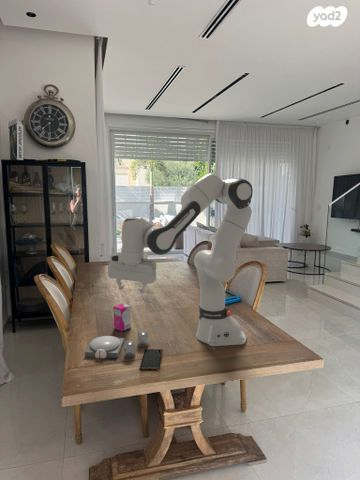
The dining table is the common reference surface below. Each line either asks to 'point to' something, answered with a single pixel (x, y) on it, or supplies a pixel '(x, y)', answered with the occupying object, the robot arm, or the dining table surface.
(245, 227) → the robot arm
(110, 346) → the scale
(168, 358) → the dining table surface
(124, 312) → the supplement box
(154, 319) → the dining table surface
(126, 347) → the cylinder
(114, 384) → the dining table surface
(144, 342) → the cylinder
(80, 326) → the dining table surface
